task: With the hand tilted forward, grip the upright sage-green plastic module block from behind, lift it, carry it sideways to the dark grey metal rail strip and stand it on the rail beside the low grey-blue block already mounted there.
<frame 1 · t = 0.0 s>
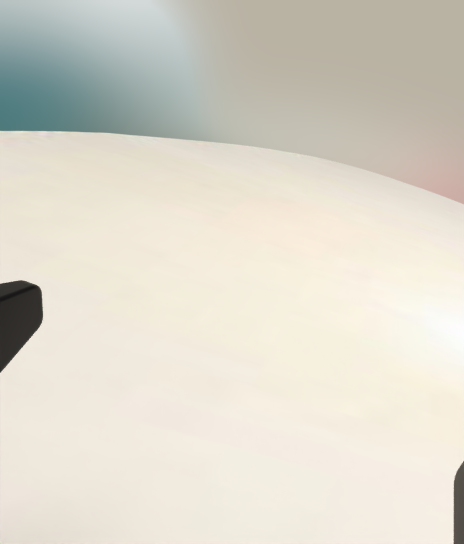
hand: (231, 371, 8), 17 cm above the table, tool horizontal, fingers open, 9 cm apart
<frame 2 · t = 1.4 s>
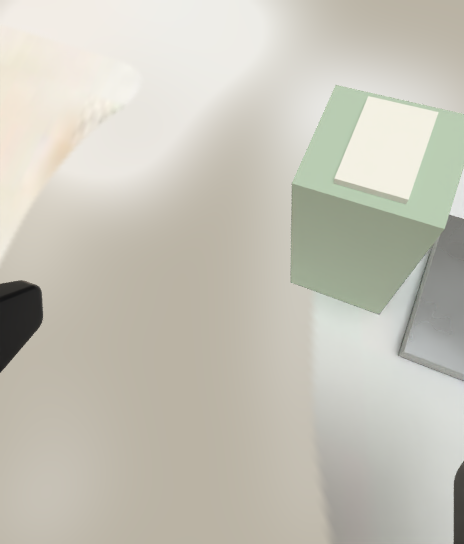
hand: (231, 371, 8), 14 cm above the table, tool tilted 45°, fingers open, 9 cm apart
module: (346, 262, 23), on the table
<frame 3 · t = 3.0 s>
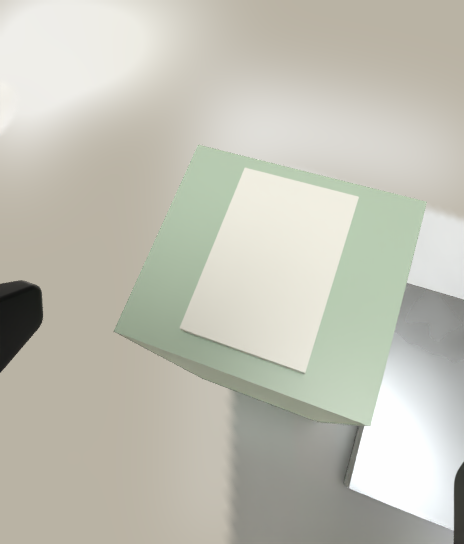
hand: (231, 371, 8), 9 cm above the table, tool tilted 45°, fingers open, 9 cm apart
module: (275, 347, 18), on the table
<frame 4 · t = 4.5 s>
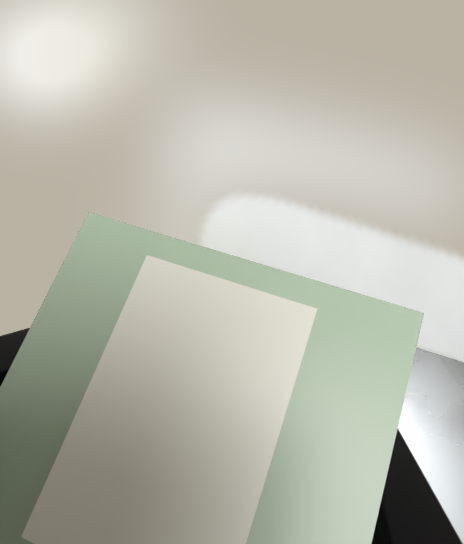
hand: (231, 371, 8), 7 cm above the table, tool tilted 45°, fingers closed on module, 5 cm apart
module: (243, 416, 15), on the table, touching gripper
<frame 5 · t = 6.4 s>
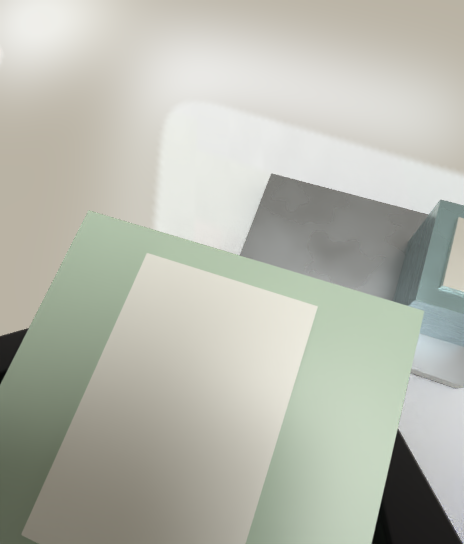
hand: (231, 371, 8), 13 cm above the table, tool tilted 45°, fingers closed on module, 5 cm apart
module: (243, 415, 15), point 6 cm above the table, touching gripper
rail: (354, 275, 22), on the table
when the fingers open (9 cm above the table, at t = 8.5 s): module drops 1 cm, resting on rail.
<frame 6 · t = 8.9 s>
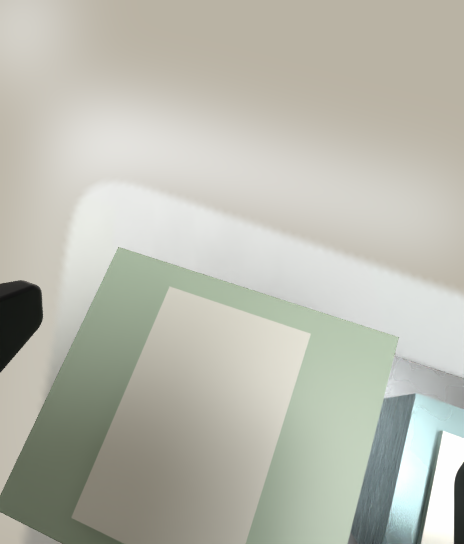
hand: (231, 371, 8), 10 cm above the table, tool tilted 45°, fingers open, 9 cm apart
module: (246, 418, 16), point 1 cm above the table, touching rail
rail: (307, 438, 16), on the table
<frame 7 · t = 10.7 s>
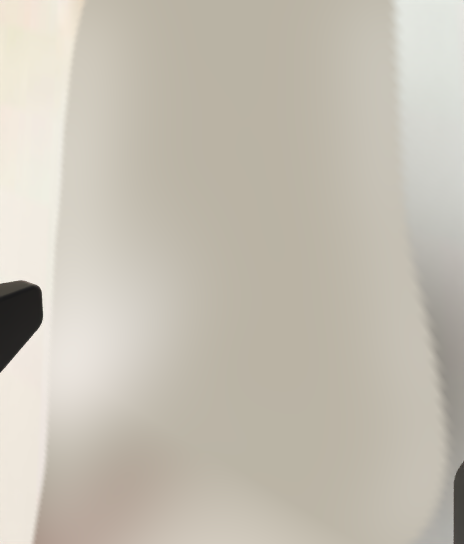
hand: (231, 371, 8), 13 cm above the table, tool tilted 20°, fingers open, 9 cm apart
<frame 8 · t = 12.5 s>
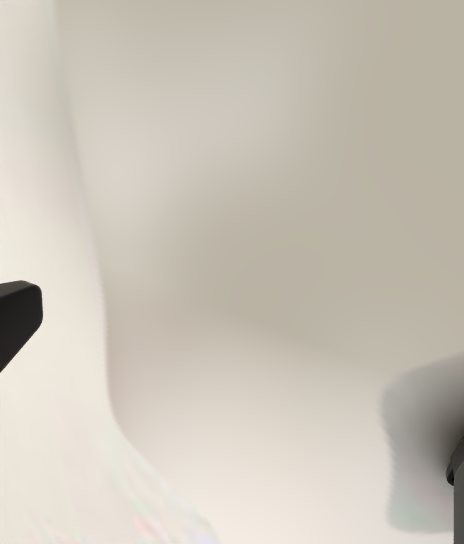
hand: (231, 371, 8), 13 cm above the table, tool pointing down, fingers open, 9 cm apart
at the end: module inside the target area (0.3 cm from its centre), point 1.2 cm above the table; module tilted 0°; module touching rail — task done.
